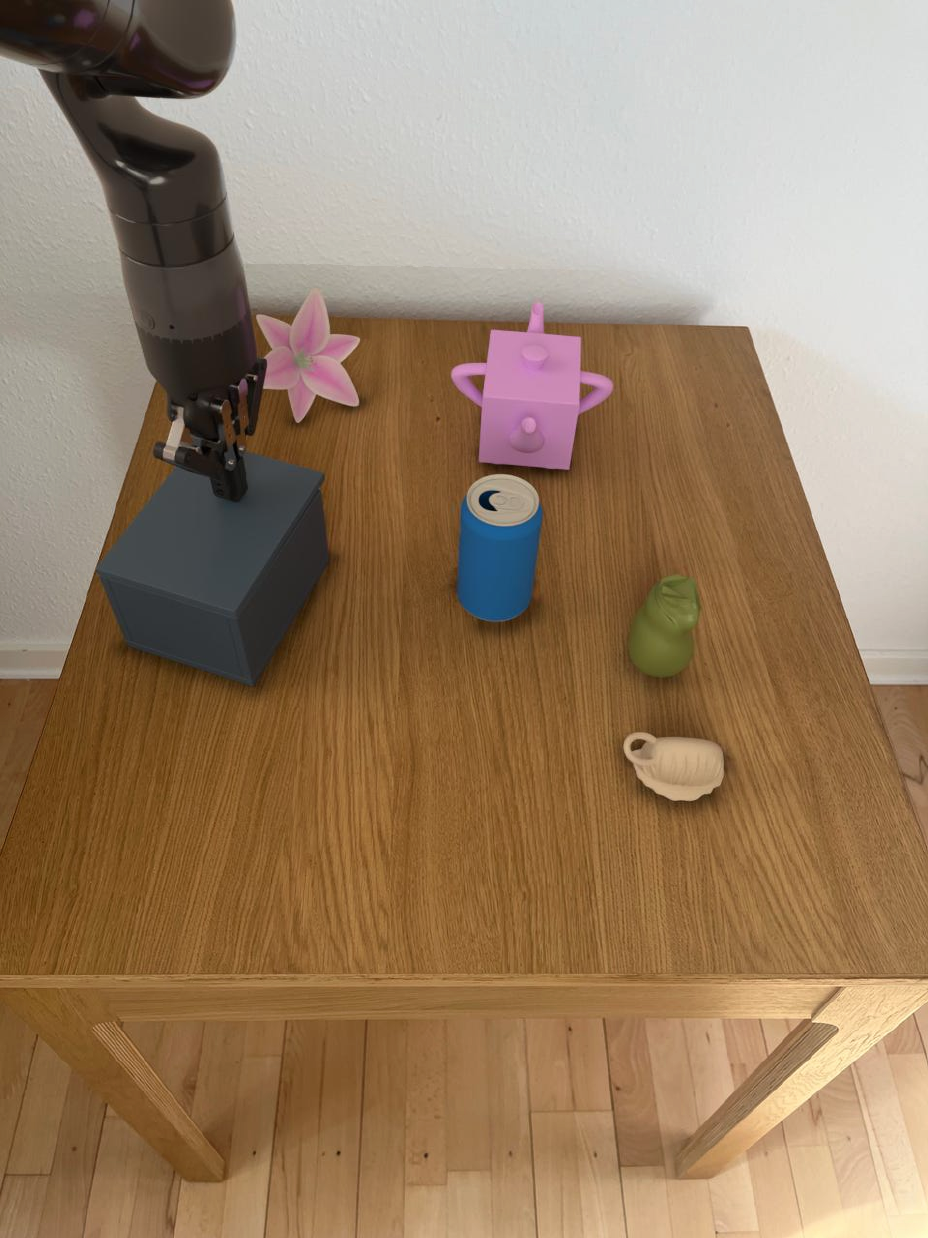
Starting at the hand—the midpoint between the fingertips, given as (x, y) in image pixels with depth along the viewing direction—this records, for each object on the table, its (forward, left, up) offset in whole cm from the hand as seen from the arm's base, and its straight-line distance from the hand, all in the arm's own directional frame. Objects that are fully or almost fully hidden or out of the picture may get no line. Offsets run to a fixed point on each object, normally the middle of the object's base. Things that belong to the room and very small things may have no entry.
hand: (232, 493), depth 75 cm
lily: (+9, +23, -10) cm, 27 cm away
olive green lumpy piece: (+31, -18, -10) cm, 37 cm away
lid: (-2, -2, -1) cm, 3 cm away
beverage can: (+20, -8, -10) cm, 24 cm away
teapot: (+29, +11, -10) cm, 33 cm away
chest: (-2, -3, -10) cm, 10 cm away
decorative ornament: (+28, -28, -10) cm, 41 cm away
